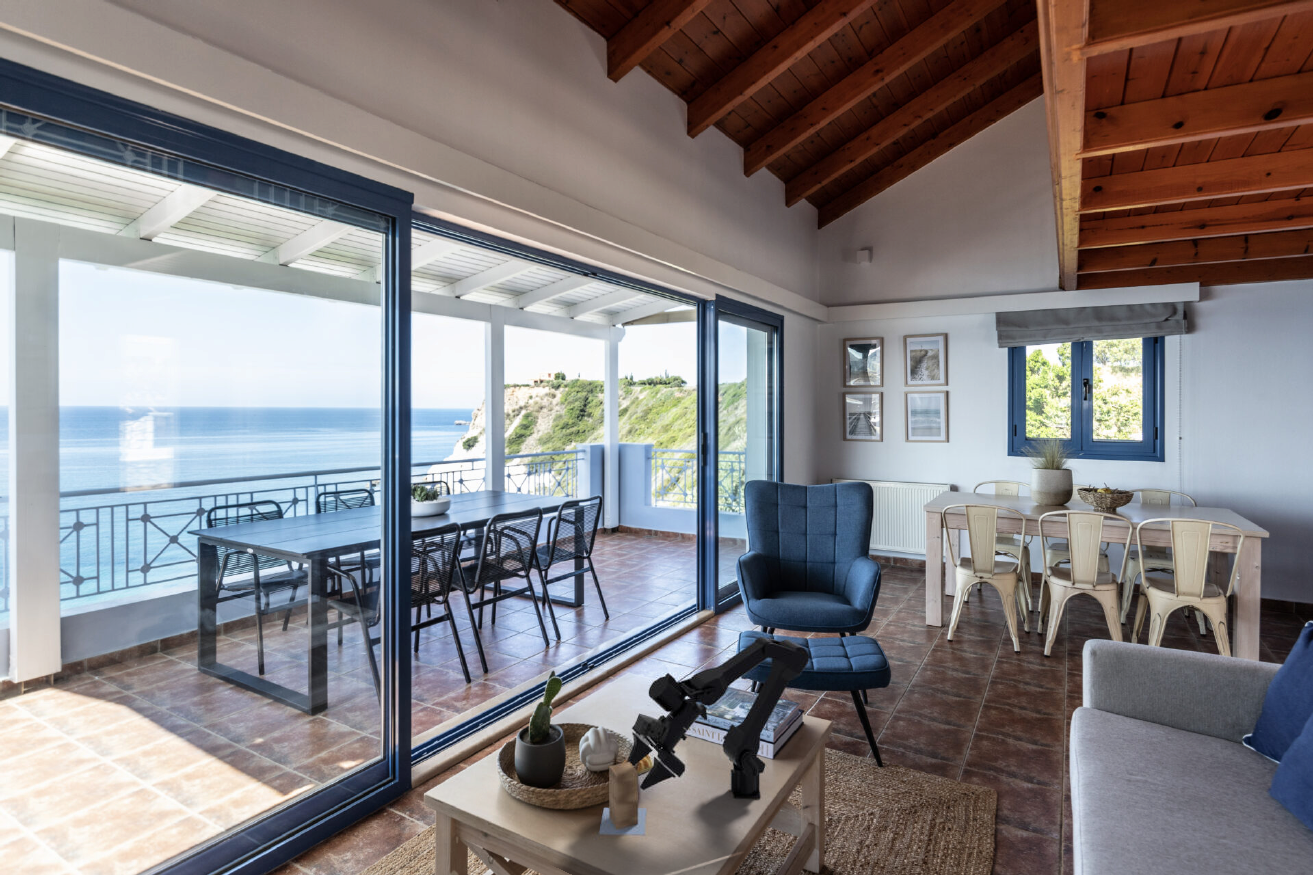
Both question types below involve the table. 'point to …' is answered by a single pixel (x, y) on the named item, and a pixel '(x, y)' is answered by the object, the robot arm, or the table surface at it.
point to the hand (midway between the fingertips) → (633, 778)
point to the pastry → (644, 765)
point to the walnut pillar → (623, 795)
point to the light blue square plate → (609, 828)
